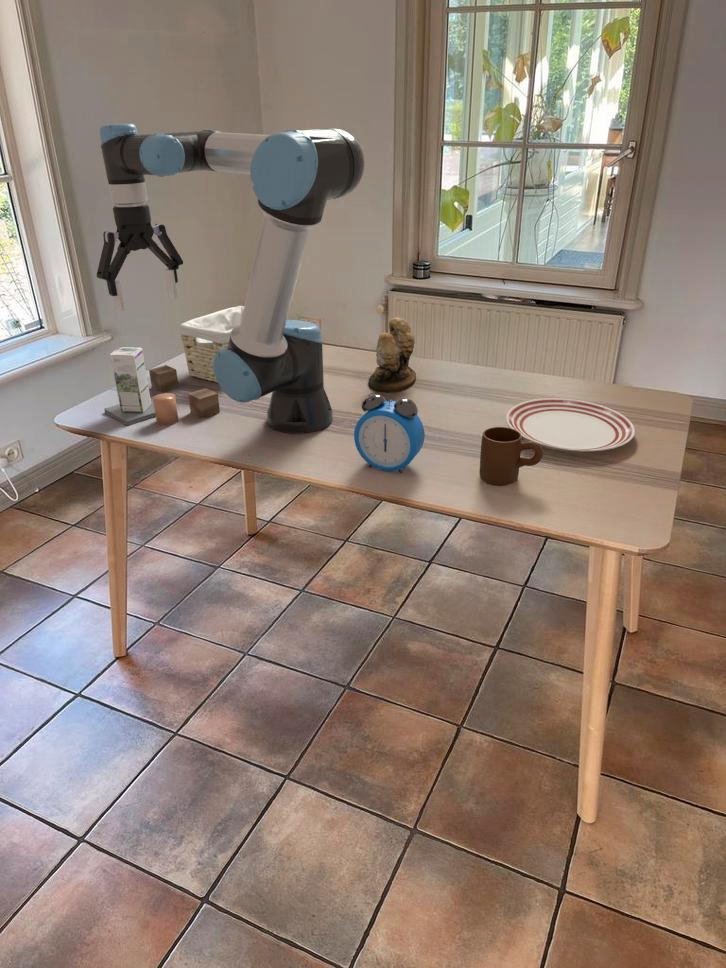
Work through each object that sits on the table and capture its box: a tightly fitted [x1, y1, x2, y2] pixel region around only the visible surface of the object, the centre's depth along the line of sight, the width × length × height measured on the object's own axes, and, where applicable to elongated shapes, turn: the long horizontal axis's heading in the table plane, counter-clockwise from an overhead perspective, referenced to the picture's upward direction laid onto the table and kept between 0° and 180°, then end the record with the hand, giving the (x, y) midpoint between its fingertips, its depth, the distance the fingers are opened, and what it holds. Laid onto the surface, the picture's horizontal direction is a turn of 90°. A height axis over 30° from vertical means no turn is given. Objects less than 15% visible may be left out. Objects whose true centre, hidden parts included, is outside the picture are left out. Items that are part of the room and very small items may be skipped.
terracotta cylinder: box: [152, 392, 180, 427], centre depth 168 cm, size 5×5×6 cm
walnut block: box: [187, 387, 221, 419], centre depth 173 cm, size 5×5×5 cm
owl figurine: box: [368, 316, 417, 393], centre depth 187 cm, size 18×12×17 cm, turn 162°
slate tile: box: [104, 399, 156, 426], centre depth 174 cm, size 11×11×1 cm
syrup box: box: [110, 346, 152, 413], centre depth 171 cm, size 6×6×14 cm
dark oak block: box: [148, 364, 180, 393], centre depth 188 cm, size 5×5×5 cm
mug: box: [479, 426, 544, 487], centre depth 139 cm, size 12×8×9 cm, turn 60°
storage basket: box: [179, 305, 245, 384], centre depth 197 cm, size 24×16×15 cm
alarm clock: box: [353, 393, 426, 474], centre depth 144 cm, size 13×6×15 cm, turn 67°
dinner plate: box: [505, 397, 636, 453], centre depth 160 cm, size 28×27×3 cm
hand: (147, 304), depth 165 cm, fingers open, 13 cm apart
